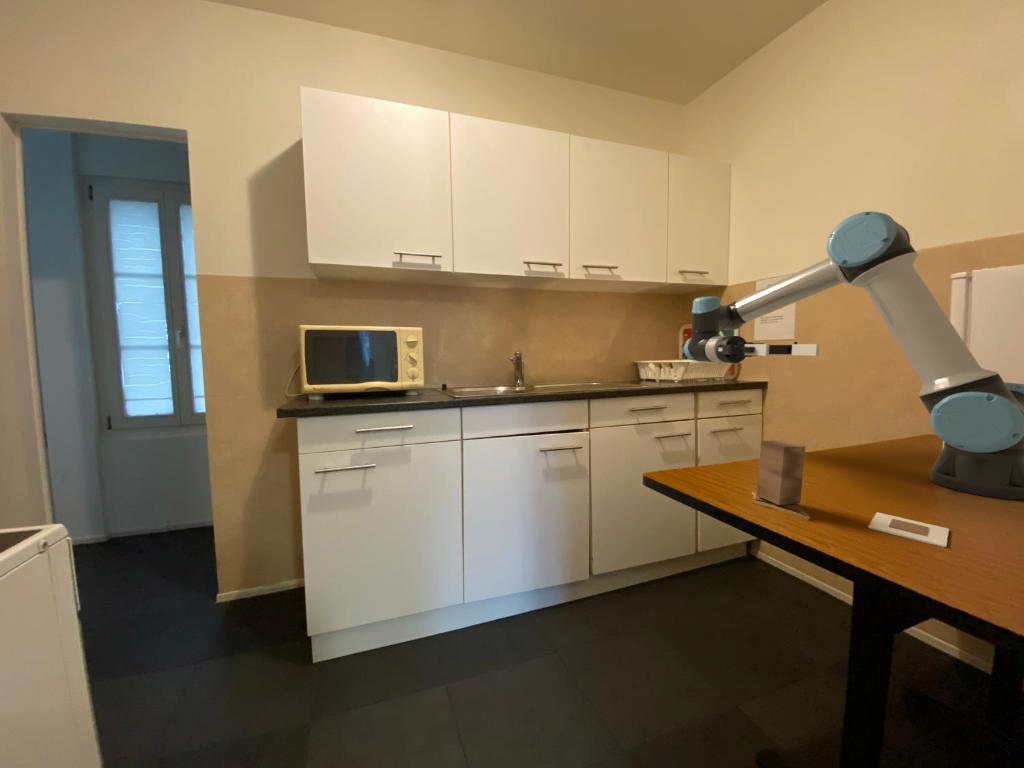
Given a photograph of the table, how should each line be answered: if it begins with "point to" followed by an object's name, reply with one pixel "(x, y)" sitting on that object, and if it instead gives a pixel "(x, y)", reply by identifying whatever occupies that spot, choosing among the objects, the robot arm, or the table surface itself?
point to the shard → (781, 507)
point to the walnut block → (780, 472)
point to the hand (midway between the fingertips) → (793, 349)
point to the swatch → (910, 529)
